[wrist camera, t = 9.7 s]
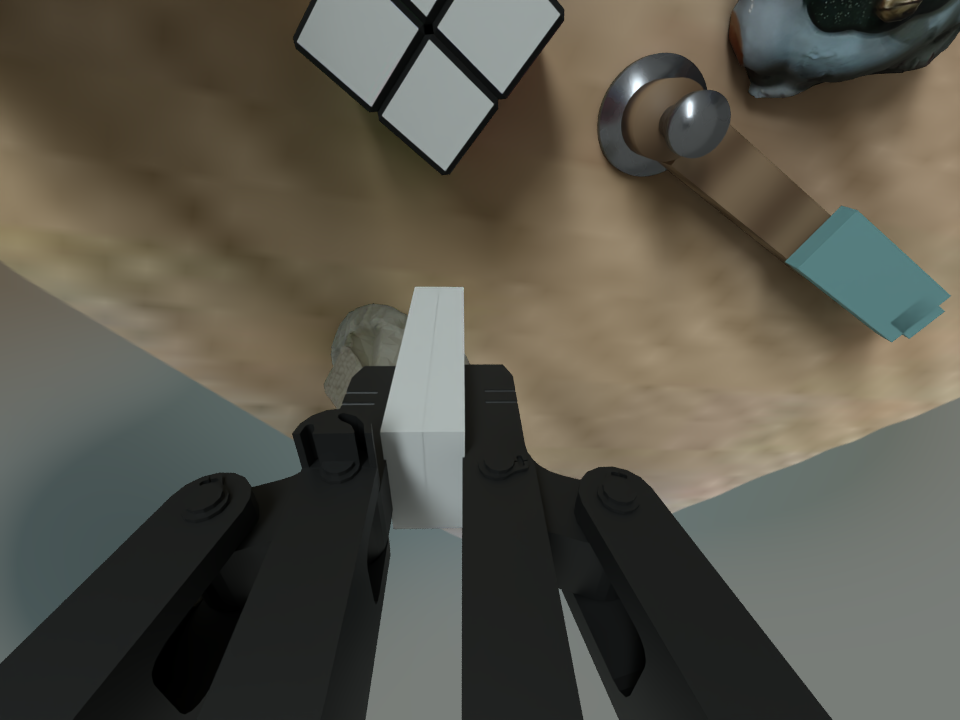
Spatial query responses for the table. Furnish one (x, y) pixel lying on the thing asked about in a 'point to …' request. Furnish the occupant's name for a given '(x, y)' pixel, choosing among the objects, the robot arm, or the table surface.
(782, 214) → the walnut link
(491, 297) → the table surface
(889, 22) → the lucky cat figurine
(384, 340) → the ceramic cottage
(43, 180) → the table surface
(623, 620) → the robot arm
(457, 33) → the puzzle cube
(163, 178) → the table surface
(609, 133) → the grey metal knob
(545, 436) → the table surface
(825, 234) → the block
